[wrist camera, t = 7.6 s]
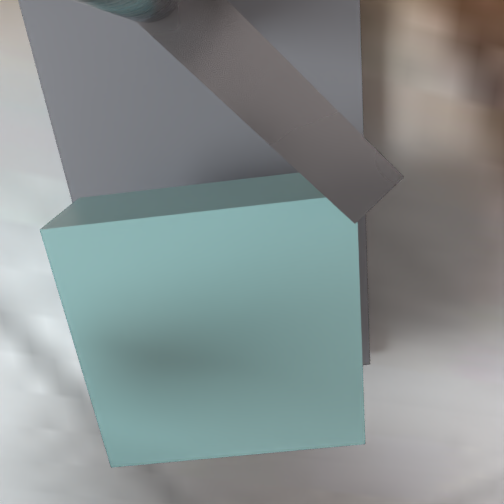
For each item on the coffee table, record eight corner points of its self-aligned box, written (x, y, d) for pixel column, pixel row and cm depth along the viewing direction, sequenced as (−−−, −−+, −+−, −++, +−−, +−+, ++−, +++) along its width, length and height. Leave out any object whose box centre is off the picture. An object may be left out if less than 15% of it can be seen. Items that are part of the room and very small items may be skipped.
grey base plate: (364, 351, 22) (388, 411, 18) (127, 374, 22) (102, 438, 18) (351, -57, 16) (382, -93, 12) (27, -14, 16) (-39, -35, 12)
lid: (346, 382, 17) (365, 444, 15) (132, 403, 18) (111, 467, 15) (336, 168, 14) (356, 193, 12) (79, 198, 15) (39, 229, 12)
